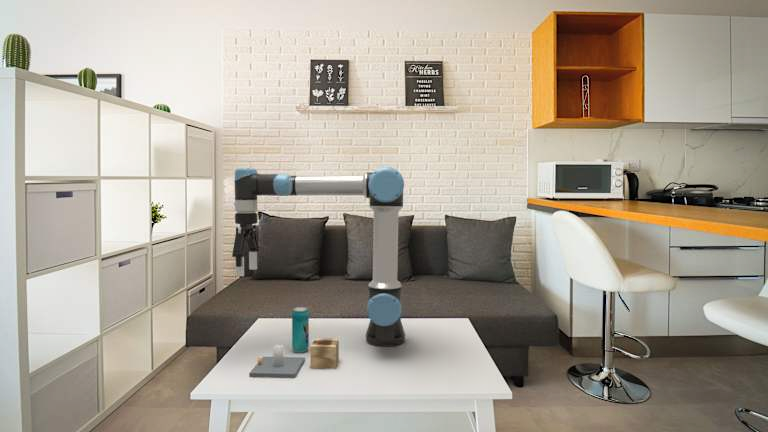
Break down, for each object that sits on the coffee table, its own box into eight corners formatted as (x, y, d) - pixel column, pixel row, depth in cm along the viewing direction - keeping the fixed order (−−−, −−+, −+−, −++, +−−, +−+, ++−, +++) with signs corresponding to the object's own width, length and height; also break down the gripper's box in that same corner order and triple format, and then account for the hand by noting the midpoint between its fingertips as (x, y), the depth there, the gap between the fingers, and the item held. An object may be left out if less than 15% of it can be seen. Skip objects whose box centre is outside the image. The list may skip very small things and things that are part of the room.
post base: (305, 360, 150) (304, 339, 150) (295, 377, 136) (295, 354, 136) (263, 360, 151) (263, 338, 151) (249, 376, 137) (249, 353, 137)
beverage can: (305, 354, 157) (305, 311, 156) (289, 352, 158) (289, 310, 157) (311, 348, 162) (311, 307, 162) (296, 347, 164) (295, 306, 163)
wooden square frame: (338, 359, 152) (338, 338, 152) (335, 368, 144) (335, 346, 144) (315, 358, 152) (315, 337, 152) (310, 367, 144) (310, 345, 144)
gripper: (247, 211, 171) (248, 266, 172) (221, 213, 146) (222, 278, 147) (267, 211, 171) (267, 267, 172) (244, 214, 146) (245, 279, 147)
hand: (246, 272), depth 159 cm, fingers open, 13 cm apart
